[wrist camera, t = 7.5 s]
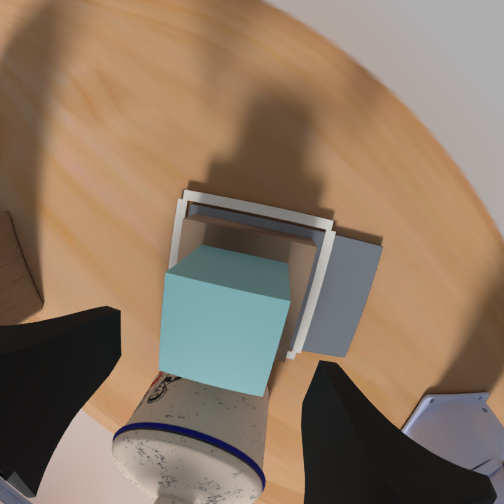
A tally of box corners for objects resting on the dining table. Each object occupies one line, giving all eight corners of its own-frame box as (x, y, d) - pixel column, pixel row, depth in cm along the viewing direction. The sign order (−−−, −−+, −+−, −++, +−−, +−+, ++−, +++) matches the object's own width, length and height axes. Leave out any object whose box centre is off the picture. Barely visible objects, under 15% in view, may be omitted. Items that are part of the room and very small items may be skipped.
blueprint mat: (384, 233, 17) (386, 234, 16) (340, 363, 19) (341, 367, 18) (182, 188, 17) (180, 188, 17) (165, 325, 19) (162, 328, 19)
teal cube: (287, 263, 15) (290, 301, 10) (268, 338, 16) (262, 396, 11) (201, 244, 15) (165, 272, 10) (190, 320, 16) (158, 370, 11)
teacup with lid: (185, 318, 19) (100, 441, 8) (296, 378, 19) (299, 519, 8) (137, 409, 22) (81, 500, 11) (222, 452, 22) (197, 552, 11)
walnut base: (312, 238, 17) (317, 247, 14) (284, 340, 18) (284, 361, 16) (196, 213, 17) (183, 218, 15) (182, 316, 19) (169, 334, 16)
